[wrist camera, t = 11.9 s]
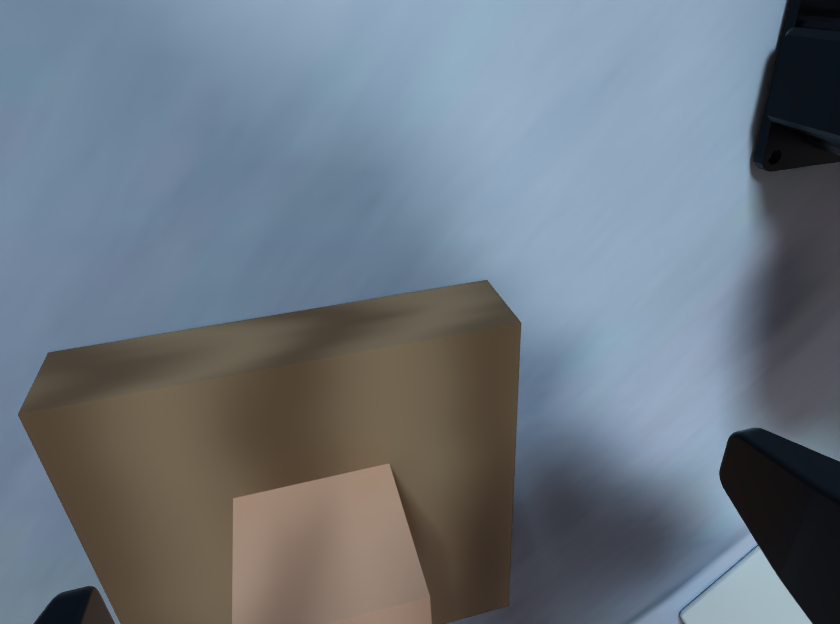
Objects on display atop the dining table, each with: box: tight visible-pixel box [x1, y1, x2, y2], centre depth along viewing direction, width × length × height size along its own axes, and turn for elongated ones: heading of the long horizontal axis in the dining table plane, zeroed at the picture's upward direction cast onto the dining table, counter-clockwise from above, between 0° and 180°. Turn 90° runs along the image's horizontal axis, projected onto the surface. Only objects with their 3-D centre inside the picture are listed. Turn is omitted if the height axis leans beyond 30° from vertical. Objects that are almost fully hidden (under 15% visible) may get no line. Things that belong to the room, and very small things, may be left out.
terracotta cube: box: [232, 464, 432, 624], centre depth 19 cm, size 5×5×5 cm
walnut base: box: [18, 280, 521, 624], centre depth 22 cm, size 14×14×3 cm
